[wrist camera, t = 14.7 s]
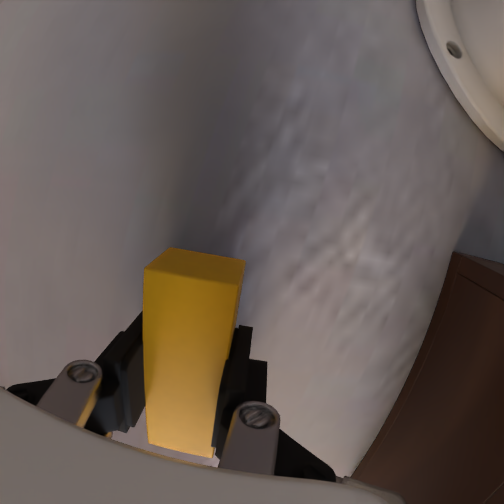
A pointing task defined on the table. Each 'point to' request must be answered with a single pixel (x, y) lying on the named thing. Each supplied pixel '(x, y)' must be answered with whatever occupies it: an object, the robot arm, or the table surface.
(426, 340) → the cabinet
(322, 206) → the table surface
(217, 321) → the tall yellow pillar
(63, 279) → the table surface
